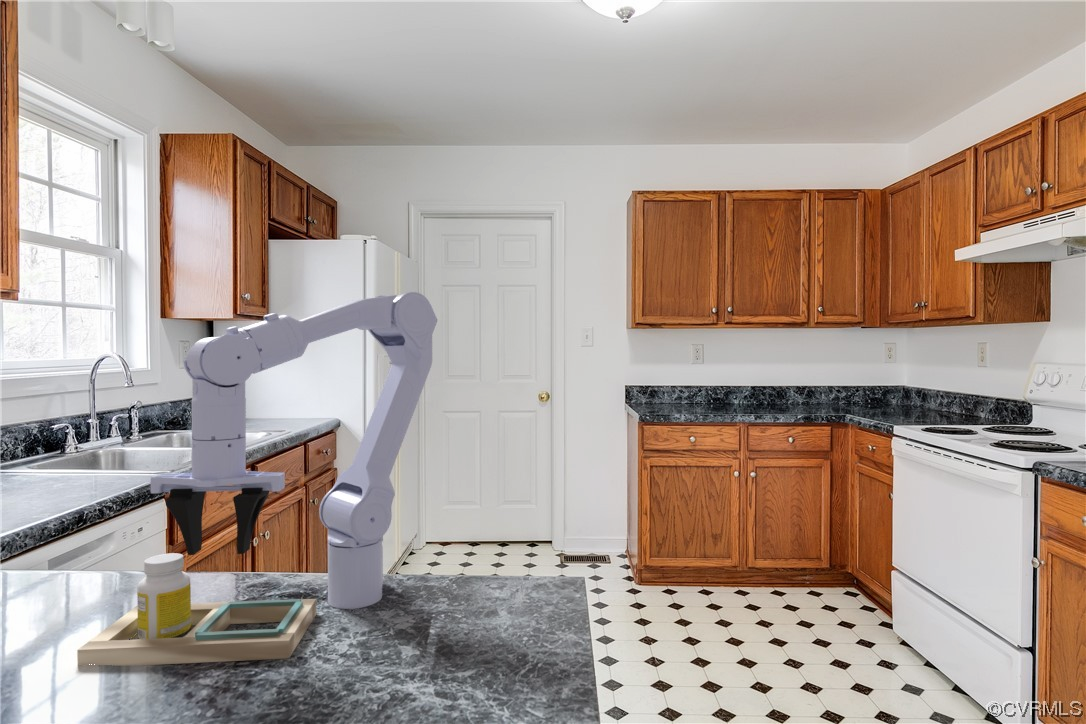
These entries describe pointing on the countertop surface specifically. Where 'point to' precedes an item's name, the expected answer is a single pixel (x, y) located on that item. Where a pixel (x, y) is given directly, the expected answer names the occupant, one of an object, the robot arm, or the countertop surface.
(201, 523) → the robot arm
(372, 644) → the countertop surface
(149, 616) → the supplement bottle
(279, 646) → the panel
